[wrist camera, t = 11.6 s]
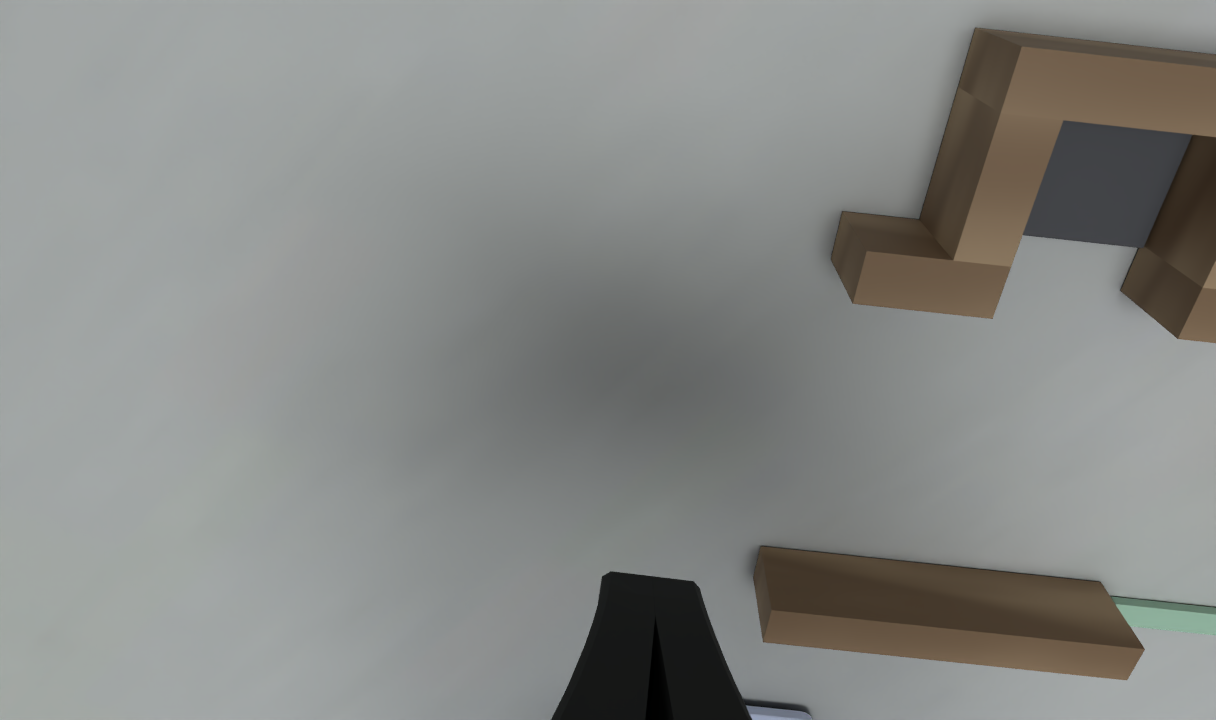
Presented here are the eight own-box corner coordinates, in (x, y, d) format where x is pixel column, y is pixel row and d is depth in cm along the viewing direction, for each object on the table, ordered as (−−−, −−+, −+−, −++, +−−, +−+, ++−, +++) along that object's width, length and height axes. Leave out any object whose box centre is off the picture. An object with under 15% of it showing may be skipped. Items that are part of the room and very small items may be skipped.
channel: (1085, 612, 25) (1127, 680, 23) (753, 576, 25) (763, 641, 23) (1364, 71, 18) (1466, 96, 15) (889, 17, 17) (923, 35, 15)
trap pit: (1136, 243, 20) (1143, 248, 19) (974, 225, 19) (978, 229, 19) (1193, 112, 18) (1200, 116, 18) (1018, 93, 18) (1023, 96, 18)
